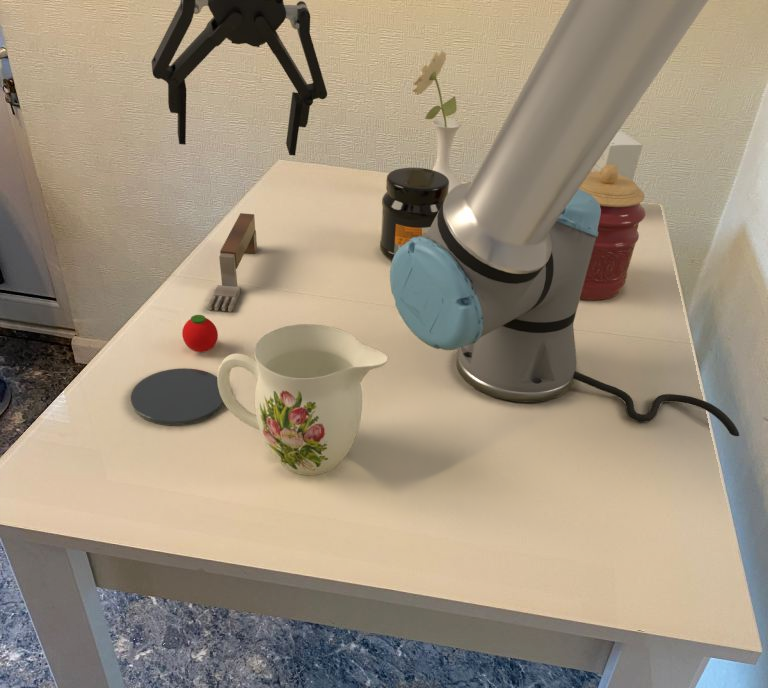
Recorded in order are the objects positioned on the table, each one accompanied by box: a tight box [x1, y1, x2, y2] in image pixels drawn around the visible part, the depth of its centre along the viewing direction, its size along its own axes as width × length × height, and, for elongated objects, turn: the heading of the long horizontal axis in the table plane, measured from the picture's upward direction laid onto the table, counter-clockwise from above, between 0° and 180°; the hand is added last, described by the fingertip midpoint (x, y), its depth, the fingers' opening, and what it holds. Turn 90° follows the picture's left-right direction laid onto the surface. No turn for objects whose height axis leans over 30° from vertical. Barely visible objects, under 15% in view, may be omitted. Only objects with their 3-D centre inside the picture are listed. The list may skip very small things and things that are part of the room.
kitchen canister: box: [579, 164, 646, 301], centre depth 110 cm, size 13×13×18 cm
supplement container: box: [379, 167, 449, 262], centre depth 116 cm, size 10×10×12 cm
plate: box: [130, 368, 225, 426], centre depth 87 cm, size 11×11×1 cm
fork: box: [207, 212, 258, 312], centre depth 108 cm, size 21×3×6 cm, turn 176°
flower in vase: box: [412, 49, 464, 194], centre depth 127 cm, size 13×11×25 cm
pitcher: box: [216, 323, 389, 476], centre depth 76 cm, size 11×18×14 cm, turn 75°
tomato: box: [181, 314, 219, 353], centre depth 94 cm, size 4×4×4 cm
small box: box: [590, 130, 643, 181], centre depth 134 cm, size 8×6×13 cm
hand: (237, 144), depth 93 cm, fingers open, 13 cm apart
